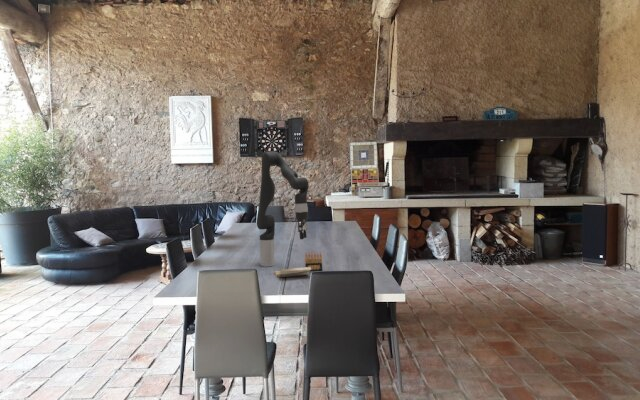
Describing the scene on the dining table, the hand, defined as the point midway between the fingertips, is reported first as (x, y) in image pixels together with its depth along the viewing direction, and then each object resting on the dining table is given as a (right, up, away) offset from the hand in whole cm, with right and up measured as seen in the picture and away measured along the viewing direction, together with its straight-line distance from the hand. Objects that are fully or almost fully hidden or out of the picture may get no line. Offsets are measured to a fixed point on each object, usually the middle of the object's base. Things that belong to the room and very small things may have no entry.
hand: (303, 238), depth 299 cm
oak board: (-8, -22, +5) cm, 24 cm away
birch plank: (-5, -20, -4) cm, 21 cm away
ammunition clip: (+6, -21, +13) cm, 26 cm away
